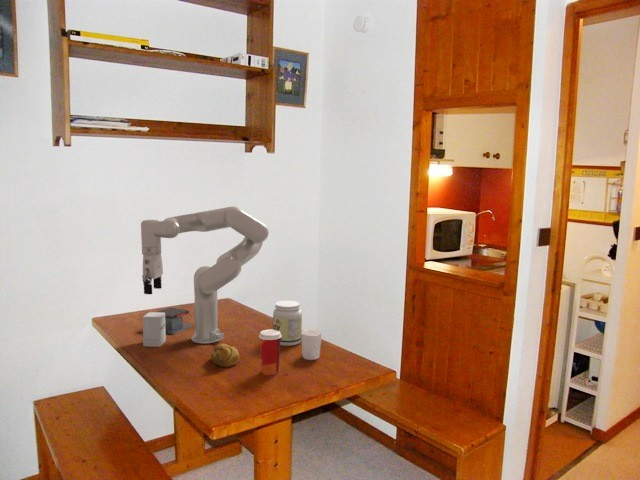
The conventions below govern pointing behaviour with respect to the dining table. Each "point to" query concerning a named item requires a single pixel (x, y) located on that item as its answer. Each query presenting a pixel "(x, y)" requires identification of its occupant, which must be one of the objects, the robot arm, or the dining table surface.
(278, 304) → the supplement tub
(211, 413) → the dining table surface
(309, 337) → the white cup
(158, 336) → the supplement box
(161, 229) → the robot arm
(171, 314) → the jack stand
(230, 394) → the dining table surface
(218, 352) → the bread roll
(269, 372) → the coffee cup
